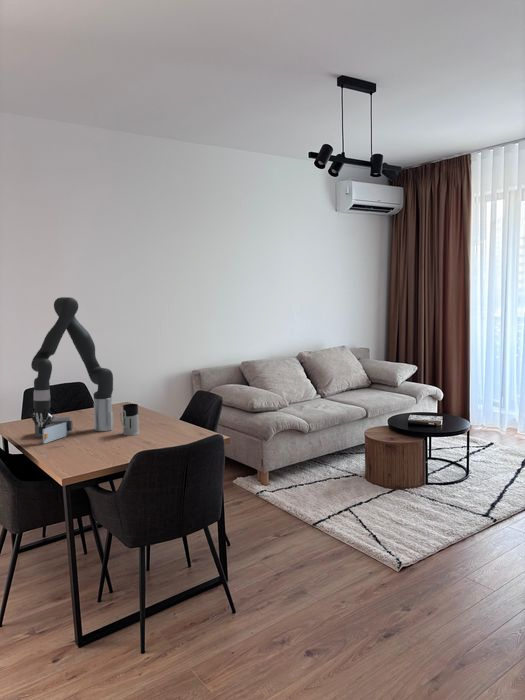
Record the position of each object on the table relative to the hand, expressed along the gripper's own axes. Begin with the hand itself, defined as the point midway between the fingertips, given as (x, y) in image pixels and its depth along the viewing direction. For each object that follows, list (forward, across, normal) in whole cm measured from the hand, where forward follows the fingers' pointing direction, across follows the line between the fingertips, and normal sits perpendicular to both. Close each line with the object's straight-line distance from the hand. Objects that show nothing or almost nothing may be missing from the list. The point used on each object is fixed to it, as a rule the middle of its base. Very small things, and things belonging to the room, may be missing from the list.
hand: (42, 433), depth 267 cm
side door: (+4, +3, +6) cm, 8 cm away
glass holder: (+3, +30, +28) cm, 41 cm away
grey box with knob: (+4, -7, +15) cm, 17 cm away
